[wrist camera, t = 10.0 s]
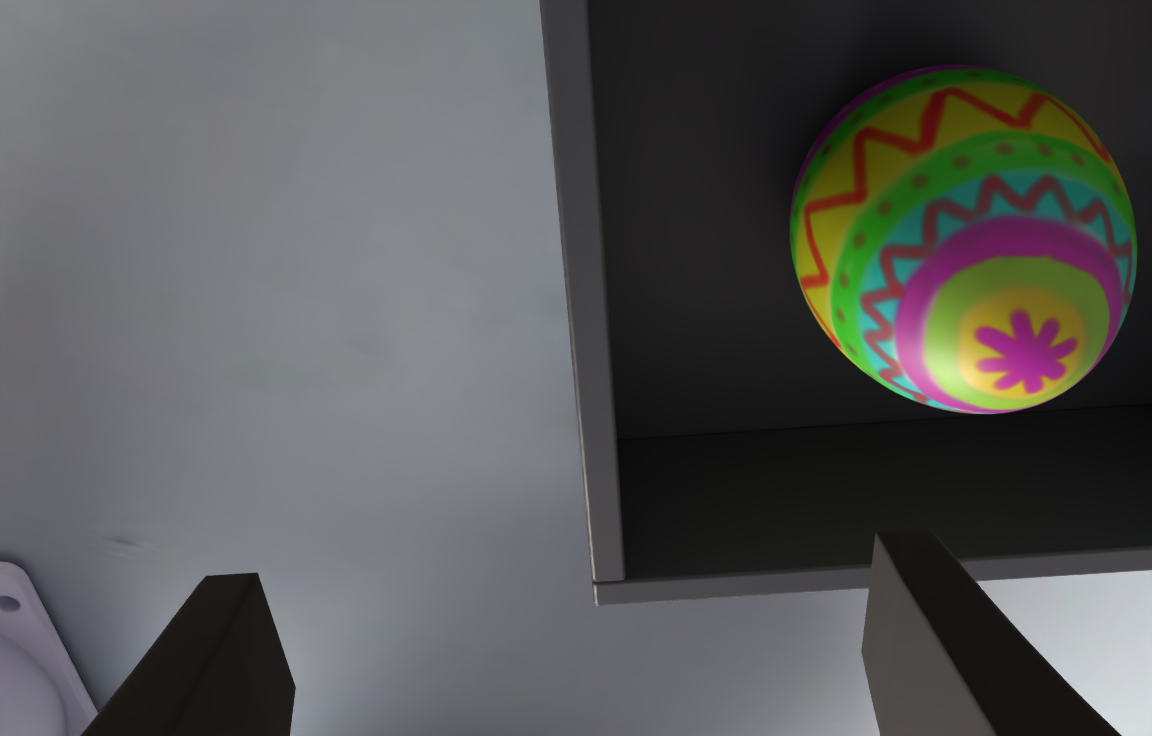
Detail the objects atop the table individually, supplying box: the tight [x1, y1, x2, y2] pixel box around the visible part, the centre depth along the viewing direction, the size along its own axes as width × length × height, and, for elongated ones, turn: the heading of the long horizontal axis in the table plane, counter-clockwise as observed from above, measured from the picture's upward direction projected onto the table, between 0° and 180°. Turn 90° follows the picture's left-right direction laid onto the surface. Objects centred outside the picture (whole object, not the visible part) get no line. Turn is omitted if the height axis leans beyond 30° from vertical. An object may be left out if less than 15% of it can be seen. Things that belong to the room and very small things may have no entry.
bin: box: [539, 0, 1152, 605], centre depth 18 cm, size 12×12×4 cm
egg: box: [790, 64, 1137, 414], centre depth 16 cm, size 5×5×6 cm
